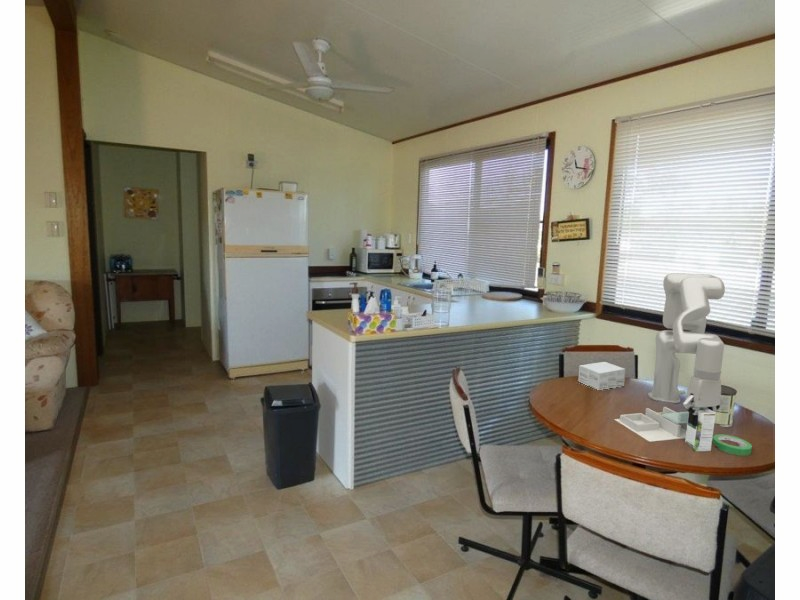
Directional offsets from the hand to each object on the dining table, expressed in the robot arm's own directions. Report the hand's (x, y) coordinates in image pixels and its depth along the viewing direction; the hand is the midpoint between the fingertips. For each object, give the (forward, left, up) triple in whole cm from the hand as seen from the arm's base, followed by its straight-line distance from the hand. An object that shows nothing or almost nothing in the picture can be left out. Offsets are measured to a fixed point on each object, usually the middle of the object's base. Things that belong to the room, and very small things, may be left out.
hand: (700, 423), depth 155 cm
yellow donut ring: (-2, -18, -8) cm, 20 cm away
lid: (-2, -11, -3) cm, 12 cm away
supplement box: (-7, -64, -10) cm, 65 cm away
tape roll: (-12, +2, -10) cm, 16 cm away
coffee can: (-26, -17, -9) cm, 32 cm away
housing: (+4, -15, -9) cm, 18 cm away
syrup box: (0, 0, -9) cm, 9 cm away
